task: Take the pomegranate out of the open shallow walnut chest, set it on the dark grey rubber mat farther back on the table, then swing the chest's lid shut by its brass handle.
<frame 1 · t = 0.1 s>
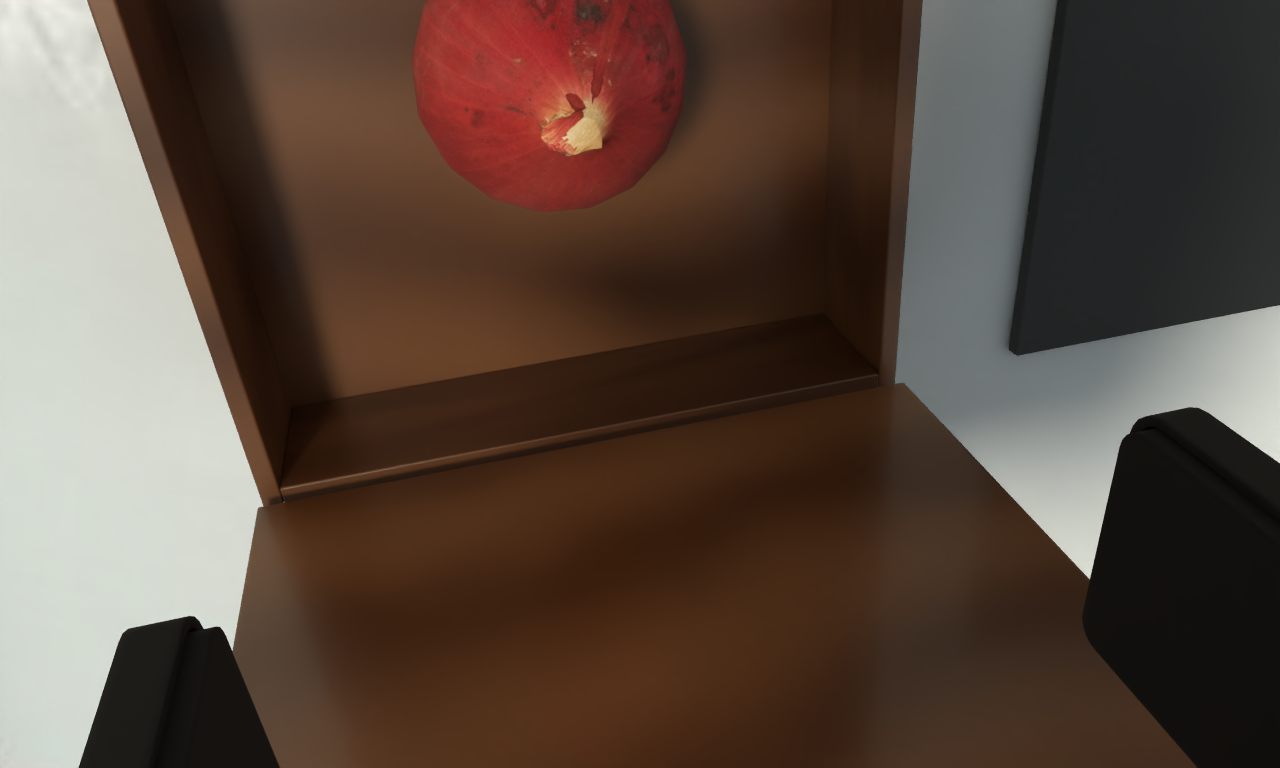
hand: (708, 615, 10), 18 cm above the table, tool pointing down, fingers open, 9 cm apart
chest: (525, 38, 24), on the table
pomegranate: (527, 40, 24), resting on chest
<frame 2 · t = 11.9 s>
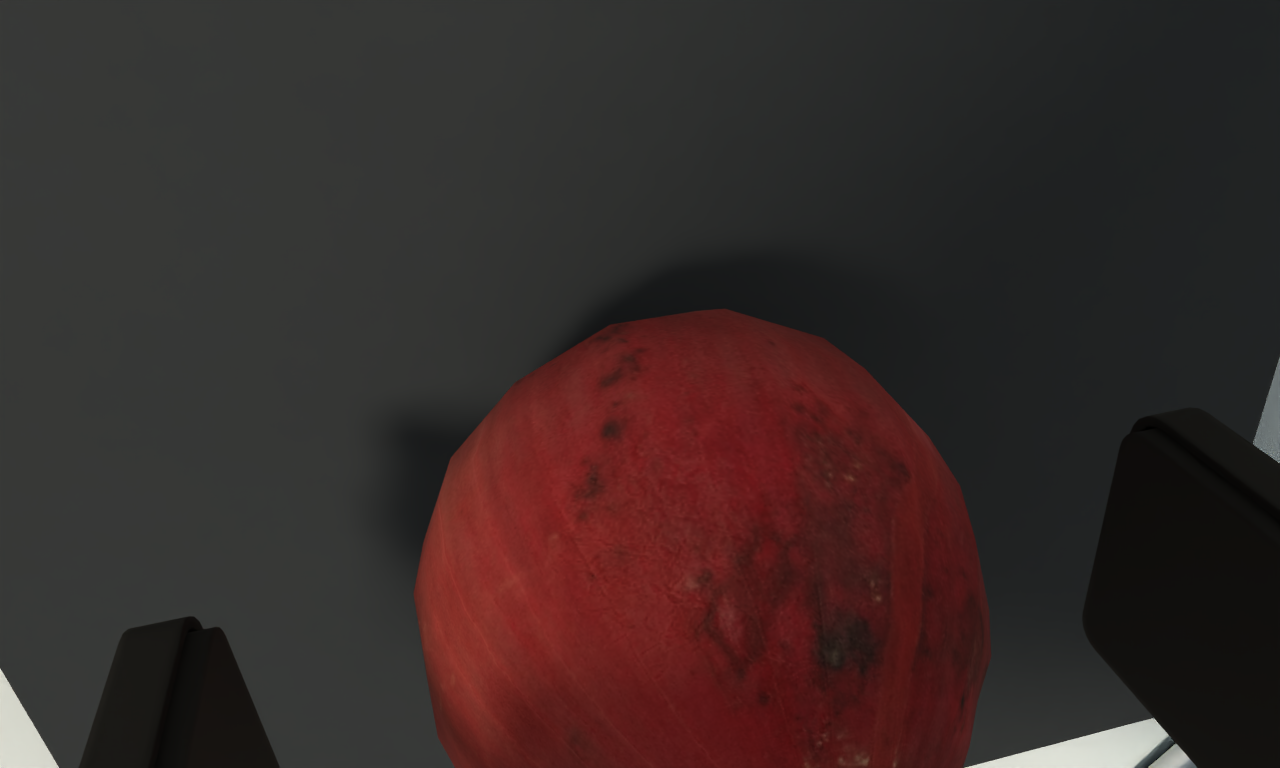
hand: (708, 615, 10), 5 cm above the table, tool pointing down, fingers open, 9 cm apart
mat: (685, 383, 14), on the table
pomegranate: (618, 404, 14), resting on mat
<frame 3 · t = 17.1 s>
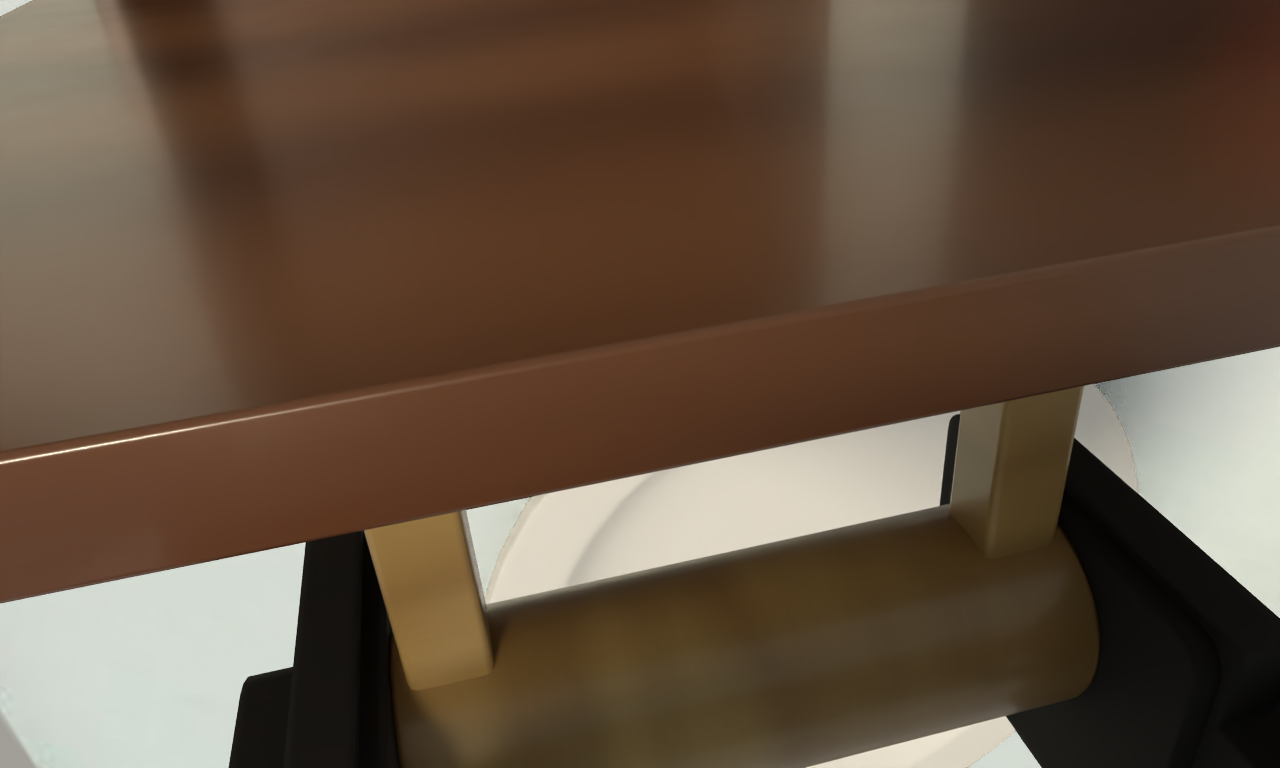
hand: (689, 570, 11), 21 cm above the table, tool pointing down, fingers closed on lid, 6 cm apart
plate: (803, 584, 41), on the table
lid: (572, 196, 15), point 15 cm above the table, hinge at 90.0°, touching gripper
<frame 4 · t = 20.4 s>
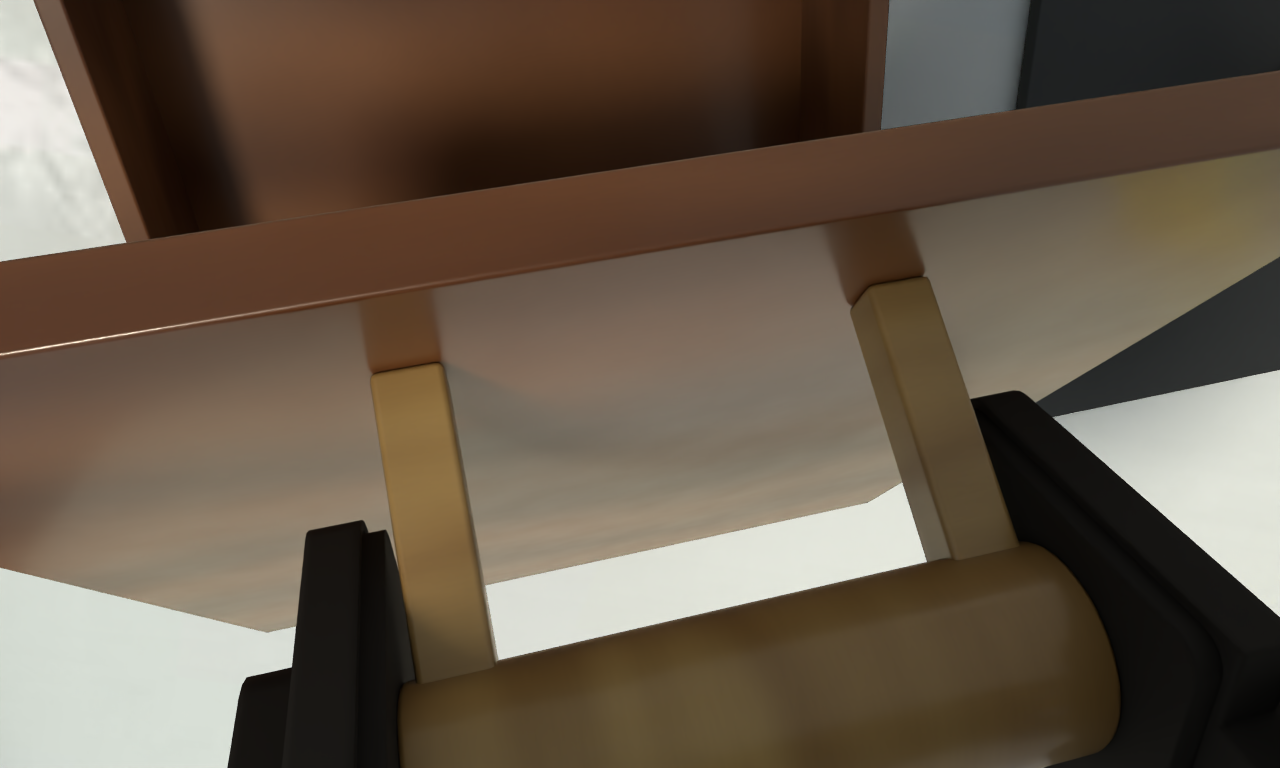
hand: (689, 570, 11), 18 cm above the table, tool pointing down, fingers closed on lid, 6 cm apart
chest: (510, 163, 26), on the table
lid: (631, 602, 17), point 13 cm above the table, hinge at 40.6°, touching gripper
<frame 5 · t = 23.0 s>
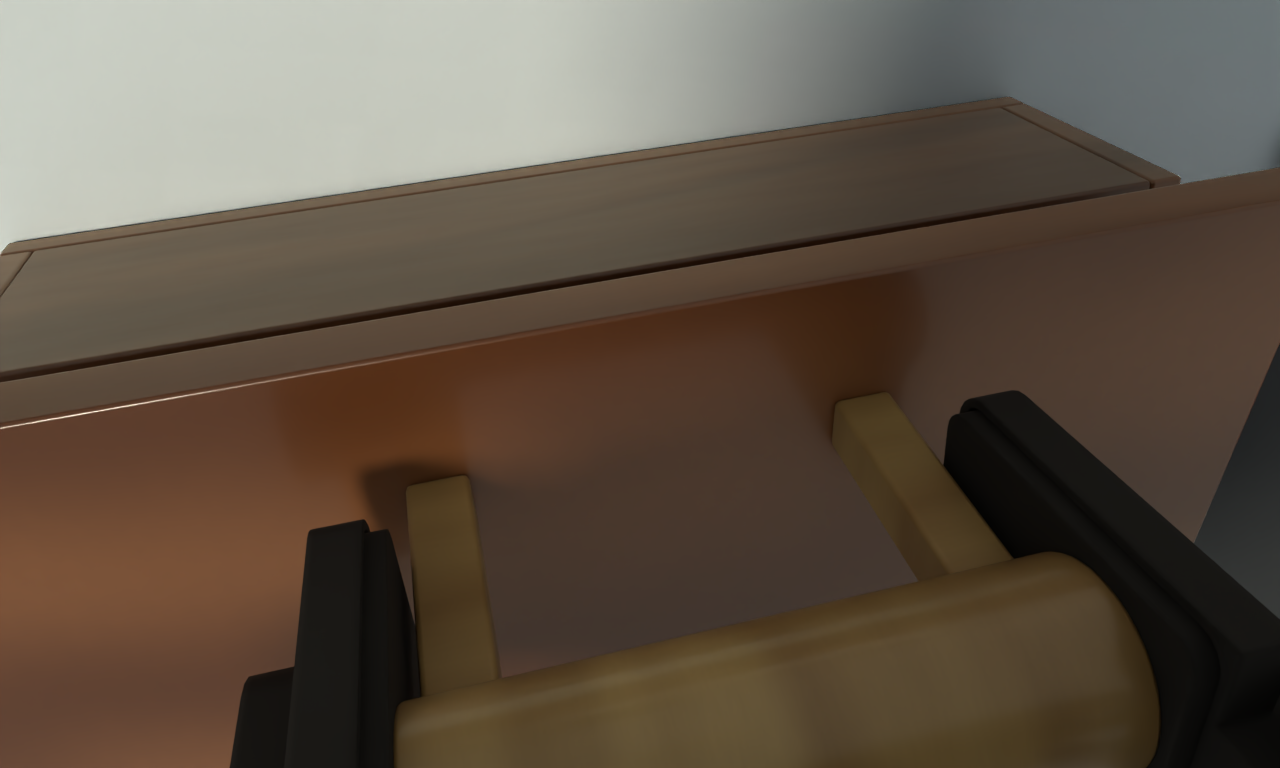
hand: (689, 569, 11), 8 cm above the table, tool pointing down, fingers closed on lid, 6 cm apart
chest: (602, 577, 21), on the table
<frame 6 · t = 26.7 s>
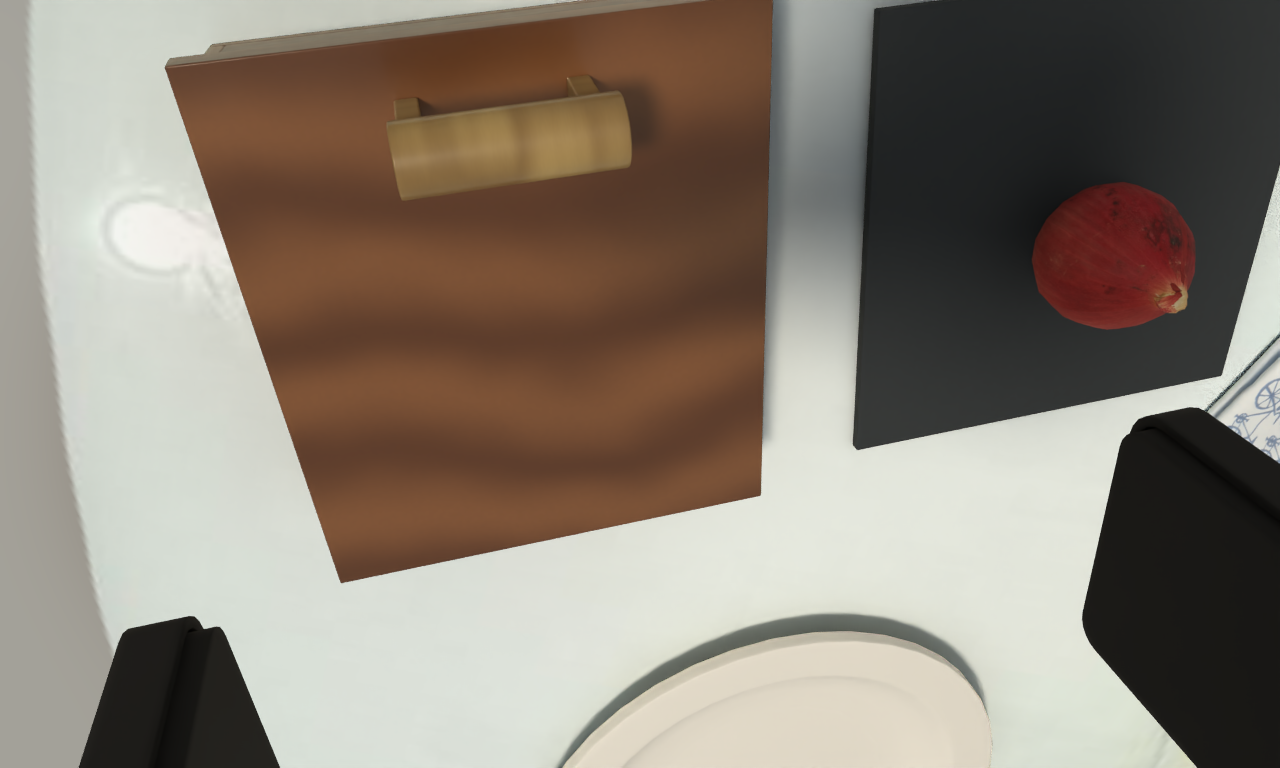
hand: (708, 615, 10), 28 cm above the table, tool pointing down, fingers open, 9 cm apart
chest: (508, 267, 38), on the table
mat: (1071, 218, 43), on the table
pomegranate: (1053, 223, 42), resting on mat
lid: (536, 359, 31), point 8 cm above the table, hinge at 4.6°
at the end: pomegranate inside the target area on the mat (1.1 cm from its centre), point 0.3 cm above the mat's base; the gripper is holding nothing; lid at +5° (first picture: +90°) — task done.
